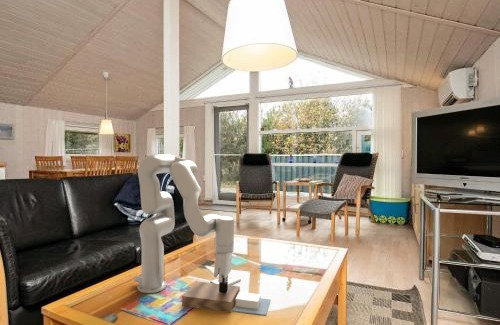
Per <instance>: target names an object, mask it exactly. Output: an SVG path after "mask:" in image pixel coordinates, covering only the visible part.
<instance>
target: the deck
mask: <svg viewBox="0 0 500 325" xmlns="http://www.w3.org/2000/svg"><path fill="white" fill-rule="evenodd" d="M239 292H241V287H240V286H239V285H228V291H227V292H226V293H223V292H219V284H214V283H210V282H205V281H195V282H194V283H193V284H192V285H191V286H190V287H189V288H188V290H186V292H185V293H184V294H182V301H181V302H182V305H181V306H182V307H186V306H189V307H188V308H195V309H200V310H201V309H203V310H210V311H215V312H216V311H217V312H225V313H232V312H233V309H234V307H235V305H236V297H237V295H238V293H239Z"/></svg>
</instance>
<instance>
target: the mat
mask: <svg viewBox="0 0 500 325" xmlns="http://www.w3.org/2000/svg"><path fill="white" fill-rule="evenodd" d="M270 303H271V299H269V298H268V299H267V298H262V297H260V304H259V307H258V309H253V308H246V307H238V306H236V304H235V305H234V307H233V309H232V312H237V313H244V314H251V315H258V316H265V317H266V316H267V313H268V310H269V306H270Z"/></svg>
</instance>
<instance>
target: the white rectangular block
mask: <svg viewBox="0 0 500 325" xmlns="http://www.w3.org/2000/svg"><path fill="white" fill-rule="evenodd" d="M260 298H262V297H261V293H251V292H243V291H240V292H239V293H238V295H237V297H236V303H235V305H236V306H238V307H246V308H253V309H258V307H259V304H260Z"/></svg>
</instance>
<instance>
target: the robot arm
mask: <svg viewBox="0 0 500 325" xmlns="http://www.w3.org/2000/svg"><path fill="white" fill-rule="evenodd" d="M198 173H199V169H198V165H196V163H195V162H193V161H192V160H189V159H186V158H183V157H179V156H176V155H172V154H160V153H159V154H158V153H157V154H156V153H155V154H150V155H146V156H144V157H143V158H142V159H141V160H140V162H139V164H138V166H137V175H138V181H139V192H140V193H139V194H140V205H141V207H140V208H141V210H142V212H143V213H144V214H145V215H149V216H150V215H151V216H152V215H155V216H152V217H151V216H150V217H148V218H146V219H144V220H143V221H142V222H141V224H140V225H139V235H140V236H139V237H140V241H141V272H140V273H141V275H135V276H134V279H133V281H134V283H138V285H137V291H139V292H140V293H143V294H155V293H158V292H162V291H164V290H165V289H166V288H167V287H168V283H167V282H168V281H166V279H165V280H164V273H165V271H164V266H165V261H164V260H165V257H164V256H165V252H164V251H165V250H164V249H165V247H164V243H163V240H162V237H163V236H165V235H168V234H170V233H172V231H173V230H174V228H175V224H176V223H175V222H176V220H175V206H174V205H175V204H174V200H173V197H172V195H171V194H170V193H169V192H167V191H161V183H160V179H159V178H158V176H157V175H158V174H169V175H170V177H171V179H172V181H173V183H174V185H175V186H176V188H177V190H178V192H179V193H180V196H181V197H182V200H183V203H182V204H183V214H184V218H185V221H186V223H187V225H188V227H189V228H190V230H191V231H192V232H193V234H195V235H196V236H197V237H202V238H203V237H206V236H208V235H210V234H211V233H215V241H214V242H215V244H214V245H215V246H214V248H215V249H214V250H215V259H214V271H213V277H214V278H217V277H218V278H219V279H218V278H217V279H218V282H219V292H223V293H226V292H227V291H228V282H226V281H228V275H229V274H231V271H232V267H233V266H232V264H233V258H232V257H233V254H232V253H234V250H235V249H234V248H235V247H234V245H235V219H234V218H233V217H231V216H226V215H225V216H223V215H218V214H215V213H209V214H206V215H203V213H202V212H201V209H200V207H199V197H200V195H201V194H202V188H201V186H200V185H199V183H198V181H197V179H196V177H197V176H198Z"/></svg>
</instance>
